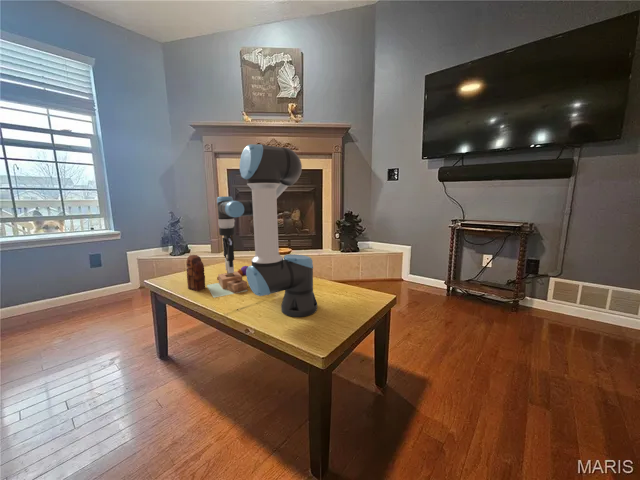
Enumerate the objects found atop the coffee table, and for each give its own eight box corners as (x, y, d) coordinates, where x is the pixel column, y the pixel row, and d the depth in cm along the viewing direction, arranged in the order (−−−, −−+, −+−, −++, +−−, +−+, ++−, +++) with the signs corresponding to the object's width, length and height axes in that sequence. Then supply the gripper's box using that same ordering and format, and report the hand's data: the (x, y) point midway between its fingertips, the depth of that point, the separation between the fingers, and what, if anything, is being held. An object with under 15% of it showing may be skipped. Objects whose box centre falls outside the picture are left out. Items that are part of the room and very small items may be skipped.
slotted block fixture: (248, 292, 128) (247, 281, 127) (213, 299, 119) (212, 287, 118) (237, 281, 144) (236, 271, 143) (206, 286, 136) (205, 275, 135)
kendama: (215, 274, 144) (246, 264, 159) (217, 284, 145) (248, 274, 159) (219, 274, 140) (251, 264, 154) (222, 285, 141) (253, 274, 155)
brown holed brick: (247, 289, 129) (246, 281, 129) (234, 293, 124) (233, 285, 124) (240, 286, 134) (239, 278, 133) (227, 289, 129) (226, 282, 128)
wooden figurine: (184, 289, 133) (180, 255, 130) (196, 285, 138) (192, 252, 135) (197, 294, 126) (193, 258, 123) (208, 290, 131) (206, 255, 128)
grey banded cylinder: (234, 284, 136) (232, 255, 132) (228, 285, 134) (226, 256, 131) (232, 282, 138) (231, 254, 135) (226, 283, 137) (225, 254, 133)
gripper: (239, 228, 126) (241, 274, 130) (230, 224, 141) (232, 266, 145) (222, 229, 122) (226, 277, 126) (215, 225, 137) (218, 268, 141)
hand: (229, 271), depth 135 cm, fingers open, 5 cm apart
